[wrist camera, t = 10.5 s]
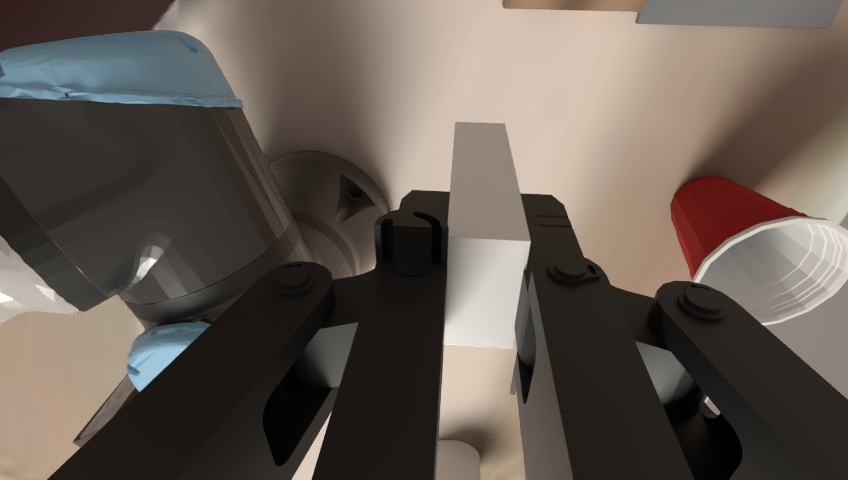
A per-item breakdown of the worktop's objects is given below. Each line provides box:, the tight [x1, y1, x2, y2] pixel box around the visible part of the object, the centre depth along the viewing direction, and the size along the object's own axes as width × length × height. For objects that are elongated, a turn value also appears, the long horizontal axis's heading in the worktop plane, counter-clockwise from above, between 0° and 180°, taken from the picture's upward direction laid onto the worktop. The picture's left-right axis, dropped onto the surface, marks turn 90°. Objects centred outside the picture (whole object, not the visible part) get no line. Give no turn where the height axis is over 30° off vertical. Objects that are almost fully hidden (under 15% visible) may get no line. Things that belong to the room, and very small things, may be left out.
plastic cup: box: [671, 176, 848, 325], centre depth 37 cm, size 11×11×12 cm
